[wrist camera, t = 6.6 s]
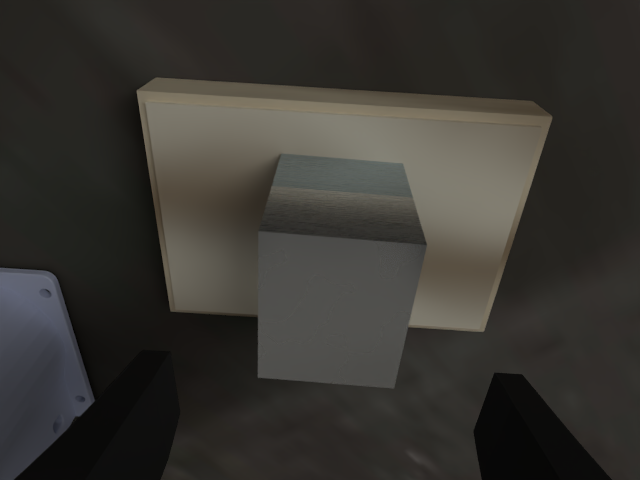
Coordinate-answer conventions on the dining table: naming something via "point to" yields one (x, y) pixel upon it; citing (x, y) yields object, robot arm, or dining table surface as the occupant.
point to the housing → (337, 271)
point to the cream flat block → (336, 142)
